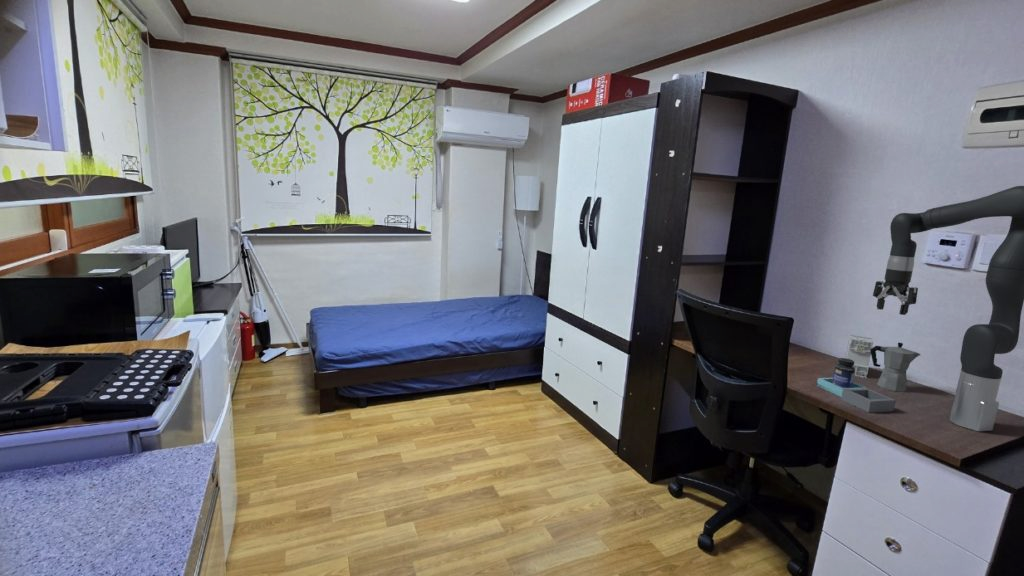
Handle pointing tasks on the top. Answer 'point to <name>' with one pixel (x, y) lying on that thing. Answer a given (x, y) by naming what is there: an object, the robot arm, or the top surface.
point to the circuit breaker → (859, 354)
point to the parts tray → (834, 386)
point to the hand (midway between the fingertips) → (891, 311)
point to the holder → (868, 400)
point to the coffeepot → (894, 366)
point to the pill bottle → (844, 373)
